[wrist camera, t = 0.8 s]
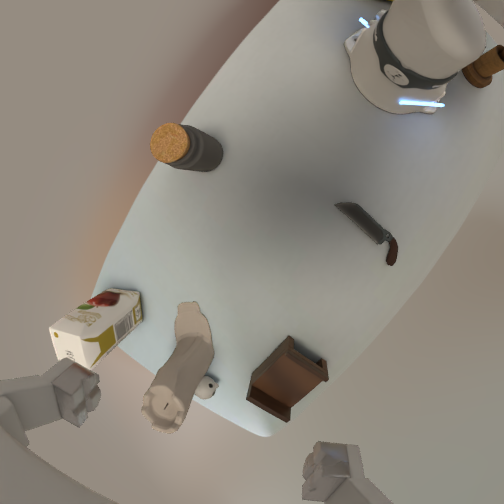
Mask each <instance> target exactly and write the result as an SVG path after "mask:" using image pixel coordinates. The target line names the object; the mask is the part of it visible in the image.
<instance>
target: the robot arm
mask: <svg viewBox="0 0 504 504" xmlns="http://www.w3.org/2000/svg"><path fill="white" fill-rule="evenodd" d="M473 1H474V2H475V3H477V4H478V5H479V6H480V7H481V8H483V9H484V10H485V11H486V12H487V13H488V14H489V15H490V16H492V17H493V18H494V19H495V20H496V21H497V22H498V23H499V24H500V25H501V26H502V27H503V28H504V0H393V2H392V5H391V7H390V9H389V10H388V11H385V10H381V11H380V12H379V13H378V14H377V15H376V20H370V21H369V22H368V23H367V22H366V21H365V20H364V19H362V18H360V20H359V21H360V22H362V23H363V24H364V25H365V27H364V28H362V29H361V30H359V31H358V32H356V33H355V34H353V35H352V36H350V37H349V38H347V39H346V41H345V42H344V47H345V49H346V51H347V53H348V55H349V57H350V63H351V73H352V77H353V80H354V82H355V84H356V86H357V88H358V89H359V91H360V92H361V93H362V94H363V95H364V97H365V98H366V99H368V100H369V101H370V102H371V103H372V104H374V105H375V106H377V107H379V108H380V109H382V110H385V111H387V112H391V113H395V114H408V113H412V112H423V113H427V114H433V113H434V112H435V111H436V110H437V108H438V107H443V106H444V104H440V103H439V102H440V99H441V97H443V96H444V95H445V94H446V92H445V89H446V86H447V83H449V82H450V81H451V80H452V79H453V78H454V77H455V76H456V75H457V73H458V71H459V70H461V69H463V68H464V67H466V66H467V65H469V64H470V63H472V62H474V61H475V60H477V59H478V58H479V57H480V56H481V55H482V53H483V51H484V49H485V48H486V46H485V45H486V32H485V28H484V23H483V20H482V17H481V15H480V13H479V11H478V9H477V7H476V6H475V4H474V3H473ZM354 40H357V41H356V42H355V41H354ZM99 382H100V381H99V375H98V374H96V373H95V372H93V371H91V370H89V369H87V368H85V367H84V366H82V365H80V364H78V363H76V362H74V361H73V360H71V359H69V358H67V357H66V358H63V359H61V360H60V361H59V362H58V363H57V364H55V365H54V366H53V367H52V368H50V369H49V370H48V371H47V372H46V373H44V374H43V375H42V376H41V377H40V376H39V375H35V376H29V377H22V378H15V379H7V380H0V504H119V503H117V502H115V501H113V500H111V499H109V498H106V497H104V496H103V495H101V494H99V493H97V492H95V491H93V490H91V489H89V488H87V487H86V486H84V485H82V484H80V483H79V482H77V481H75V480H74V479H72V478H70V477H69V476H67V475H66V474H64V473H62V472H61V471H59V470H57V469H56V468H55V467H53V466H52V465H50V464H49V463H47V462H46V461H44V460H43V459H42V458H40V457H39V456H38V455H36V454H35V453H33V452H32V451H31V450H30V449H28V448H27V446H28V445H29V440H28V438H27V436H26V434H25V431H27V430H30V429H34V428H37V427H39V426H42V425H45V424H48V423H51V422H54V421H57V420H60V419H62V418H63V419H65V420H66V421H68V422H70V423H71V424H73V425H75V426H77V427H80V426H81V425H82V423H84V421H85V420H86V419H87V418H88V415H87V412H91V411H94V410H95V408H96V407H97V406H98V403H99V401H100V397H101V391H100V389H99V387H98V385H97V384H98V383H99ZM313 449H314V452H313V453H310V454H309V455H308V457H307V458H306V460H305V463H304V467H303V477H304V479H305V480H306V481H305V483H304V484H303V485H302V499H303V500H312V501H322V502H324V503H325V504H393V503H392V502H391V501H390V500H389V499H388V498H387V497H386V496H385V495H384V494H383V493H382V492H381V491H380V490H379V489H378V488H377V487H376V486H375V485H374V484H373V483H372V482H371V481H370V480H369V479H368V478H365V477H364V472H363V465H362V460H361V455H360V450H359V447H358V445H348V444H339V443H330V442H321V441H318V442H317V443H316V444H315V445H314V447H313Z"/></svg>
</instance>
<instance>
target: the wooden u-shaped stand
mask: <svg viewBox="0 0 504 504" xmlns="http://www.w3.org/2000/svg"><path fill="white" fill-rule="evenodd" d="M328 380H329V377H328V370H327V363H326V361H325V360H324V359H322V358H321V359H320V360H319V361H318V362H317V363H316V364H315V363H314V362H312V361H311V360H309V359H308V358H306V357H305V356H303V355H302V354H300V353H299V352H297V351H296V350H294V339H293V338H292V337H290V336H288V337H287V338H286V339H285V340H284V341H283V342H282V343H281V344H280V345H279V347H278V348H277V349H276V350H275V351H274V352H273V353H272V354H271V355H270V356H269V357H268V358H267V359H266V360H265V361H264V362H263V363H262V364H261V365H260V366H259V367H258V368H257V369H256V370H255V371H254V372H253V373H252V376H251V381H250V385H249V389H248V393H247V397H246V400H248V401H249V402H251V403H253V404H254V405H256V406H258V407H259V408H261V409H263V410H265V411H266V412H268V413H270V414H272V415H273V416H275V417H277V418H279V419H281V420H283V421H284V422H286V423H287V422H288V421H290V414H291V407H292V406H294V405H295V404H296V403H297V402H299V401H300V400H301V399H302V398H303V397H304V396H306V395H307V394H308V393H309V392H310V391H311V390H313V389H314V388H315V387H316V386H317V385H318V384H319V383H320V382H322V381H325V382H327V381H328Z"/></svg>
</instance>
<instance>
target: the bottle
mask: <svg viewBox="0 0 504 504" xmlns="http://www.w3.org/2000/svg"><path fill="white" fill-rule="evenodd" d="M150 148H151V151H152V154H153V156H154V157H155V158H156V159H157V160H159V161H160V162H163V163H166V164H168V165H170V166H172V167H174V168H177V169H183V170H192V171H201V172H207V171H211V170H213V169H215V168H216V167H217V166H218V165H219V164H220V162H221V160H222V157H223V149H222V146H221V144H220V143H219V142H218V141H217V140H216V139H215V138H213V137H211V136H209V135H208V134H206V133H204V132H202V131H200V130H198V129H196V128H194V127H192V126H188V125H181V124H175V123H166V124H164V125H162V126H160V127H159V128H158V129H157V130H156V131H155V132H154V133H153V135H152V138H151V142H150Z"/></svg>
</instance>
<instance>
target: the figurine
mask: <svg viewBox="0 0 504 504" xmlns="http://www.w3.org/2000/svg"><path fill="white" fill-rule="evenodd" d="M218 387H219V385H218V384H217V383H215V382H214V380H213V379H212V378H210V377H209V376H204V377H203V379H202V380H201V382H200V383H199V385H198V387H197V388H196V391H195V395H196V396H198V397H199V398H201V399H209V398H211V397H212V396H213V395H214V394H215V391H216V388H218Z"/></svg>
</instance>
